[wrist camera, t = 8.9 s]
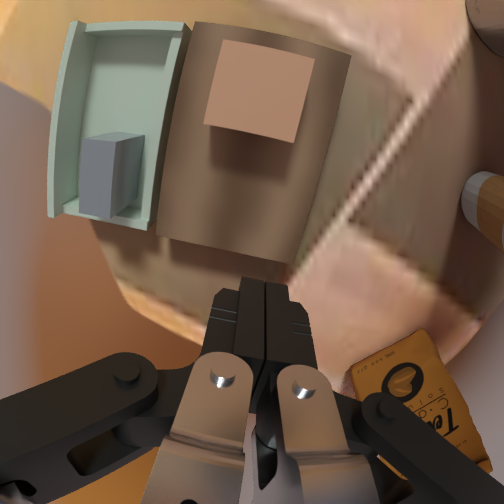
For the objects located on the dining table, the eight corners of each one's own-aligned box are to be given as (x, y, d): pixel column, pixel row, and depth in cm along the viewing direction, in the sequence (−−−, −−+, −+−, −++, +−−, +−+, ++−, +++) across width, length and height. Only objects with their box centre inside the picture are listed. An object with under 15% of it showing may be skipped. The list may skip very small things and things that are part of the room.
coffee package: (341, 357, 36) (377, 517, 16) (427, 315, 33) (505, 456, 13) (360, 394, 40) (391, 524, 20) (434, 359, 37) (489, 479, 17)
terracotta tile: (307, 66, 19) (314, 59, 16) (289, 139, 21) (293, 143, 19) (227, 48, 18) (223, 39, 16) (210, 122, 21) (203, 123, 18)
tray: (193, 32, 21) (179, 16, 16) (158, 217, 28) (140, 237, 24) (97, 31, 20) (70, 21, 16) (74, 200, 28) (47, 216, 23)
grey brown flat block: (338, 63, 22) (351, 55, 18) (288, 245, 29) (292, 264, 26) (204, 33, 21) (195, 21, 17) (168, 219, 29) (155, 235, 25)
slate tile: (115, 141, 19) (82, 138, 19) (109, 219, 21) (78, 212, 21) (145, 134, 24) (116, 131, 24) (137, 197, 27) (110, 192, 27)
